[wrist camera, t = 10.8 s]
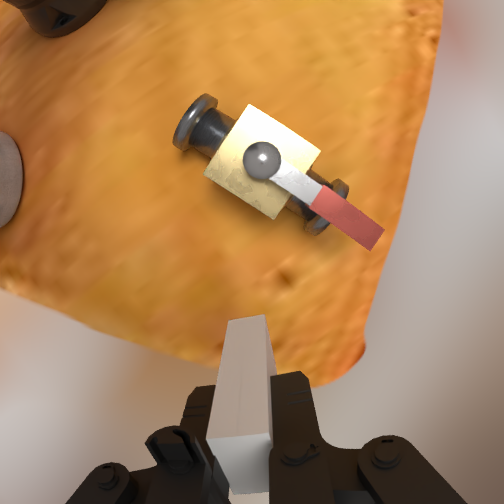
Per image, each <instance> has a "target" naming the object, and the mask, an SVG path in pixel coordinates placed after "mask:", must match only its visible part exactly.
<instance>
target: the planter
mask: <svg viewBox="0 0 504 504" xmlns="http://www.w3.org/2000/svg"><path fill="white" fill-rule="evenodd" d="M22 180H23V174H22V162H21V157H20V154H19V150H18V148H17V146H16V144H15V142H14V140H13V139H12V138H11V137H10V136H9V135H8V134H7V133H5V132H3V131H0V228H1V227H2V226H4V225H5V224H7V223H8V222H9V220H10V219H11V218H12V216H13V215H14V213H15V211H16V208H17V206H18V203H19V200H20V196H21V190H22Z"/></svg>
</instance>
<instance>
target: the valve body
mask: <svg viewBox="0 0 504 504" xmlns="http://www.w3.org/2000/svg"><path fill="white" fill-rule="evenodd" d="M217 104H218V100H217V99H216V98H214V97H212V96H211V95H209V94H203V95H201V96H200V97H199V98H197V99H196V100H195V101H194V102H193V104H192V105H191V106H190V107H189V108H188V110H187V111H186V113H185V114H184V116H183V117H182V119H181V120H180V122H179V124H178V126H177V128H176V131H175V133H174V137H173V145H174V146H176V147H177V148H179V149H181V150H182V151H186V150H188V149H189V148H190V147H191V146H192V147H194V148H195V149H197V150H199V151H200V152H202V153H204V154H205V155H207V156H209V157H210V158H211V160H210V163H209V165H208V166H207V168H206V170H205V171H204V173H203V175H205V176H206V177H208V178H209V179H211V180H212V181H214V182H216V183H217V184H219V185H220V186H222V187H223V188H225V189H227V190H228V191H230V192H231V193H233V194H234V195H236V196H238V197H239V198H241V199H242V200H244V201H245V202H247V203H248V204H250V205H251V206H253V207H255V208H256V209H258V210H259V211H261V212H262V213H264V214H265V215H267V216H268V217H270V218H271V219H273V220H274V219H275V218H276V216H277V215H278V213H279V212H280V210H282V209H283V208H284V207H285V206H286V207H288V208H289V209H290V210H292V211H293V212H295V213H296V214H298V215H299V216H301V217H302V218H304V219H305V223H304V229H305V230H306V231H308V232H309V233H311V234H312V235H314V236H316V235H318V234H320V233H321V232H322V231H323V230H325V229H326V228H327V226H328V225H329V224H330V222H329V221H327V220H326V219H324V218H323V217H321V216H320V215H318V214H317V213H316V212H314V211H313V210H311V209H310V208H308V207H307V206H305V204H306V203H305V202H303V201H302V200H300V199H299V198H298V197H296V196H295V195H293V194H292V193H290V192H289V191H287V190H286V189H284V188H283V187H281V186H279V185H278V184H276V183H275V182H273V181H272V180H270V179H269V178H267V179H258V178H255V177H253V176H251V175H250V174H249V173H248V172H247V171H246V170H245V168H244V165H243V155H244V152H245V150H246V149H247V148H248V146H250V145H251V144H253V143H255V142H258V141H266V142H269V143H272V144H273V145H275V146H276V147H277V149H278V150H279V152H280V154H281V159H283V160H284V161H286V162H287V163H289V164H290V165H292V166H293V167H295V168H296V169H298V170H299V171H301V172H302V173H304V174H305V175H307V176H308V177H310V178H311V179H313V180H314V181H316V182H317V183H318V184H323V185H325V186H327V187H328V188H330V189H331V190H332V191H334V192H335V193H337V194H338V195H339V196H341V197H342V198H343V199H345V200H346V198H347V195H348V192H349V186H348V185H347V184H346V183H344V182H343V181H342V180H340V179H336V180H334V181H333V182H332V183H329V182H328V181H326V180H325V179H324V178H322V177H321V176H319V175H318V174H317V173H315V172H314V171H312V170H311V168H312V165H313V162H314V160H315V159H316V157H317V156H318V154H319V153H320V150H319V149H317V148H316V147H315V146H313V145H312V144H310V143H309V142H307V141H306V140H304V139H303V138H302V137H300V136H299V135H297V134H296V133H294V132H293V131H291V130H290V129H288V128H286V127H285V126H283V125H282V124H280V123H279V122H277V121H276V120H274V119H273V118H271V117H269V116H268V115H266V114H265V113H263V112H261V111H260V110H258V109H256V108H255V107H253V106H251V105H250V104H249V105H248V107H247V108H246V110H245V111H244V112H243V114H242V115H241V117H239V118H238V119H237V120H236V121H235V120H234V119H232V118H230V117H229V116H227V115H225V114H224V113H222V112H220V111H219V110H217V109H216V107H217Z"/></svg>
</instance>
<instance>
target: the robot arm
mask: <svg viewBox="0 0 504 504" xmlns="http://www.w3.org/2000/svg"><path fill="white" fill-rule="evenodd" d="M3 1H5V2H7V3H9V4H11V5H13V6H15V7H16V8H18V9H20V11H21V12H22V14H23V15H24V17H25V19H26V20H27V22H28V23H29V25H30V26H31V28H32V29H33V30H34V31H36V32H37V33H39V34H41V35H43V36H46V37H59V36H63V35H66V34H68V33H70V32H72V31H74V30H76V29H78V28H79V27H81V26H82V25H84V24H85V23H86V22H87V21H89V20H90V19H91V18H92V17H93V16H94V15H95V14H96V13H97V12H98V11H99V10H100V9H101V8H102V6H103V5H104V4H105V2H106V1H107V0H3ZM145 445H146V446H147V448H148V450H149V451H150V453H151V454H152V456H153V458H154V459H155V461H156V462H157V465H156V466H154V467H151V468H148V469H142V470H137V471H132V472H129V471H128V470H127V468H126V467H125V466H123V465H121V464H119V463H113V462H111V463H105V464H102V465H100V466H98V467H96V468H95V469H94V470H93V471H92V472H91V473H90V474H89V475H88V476H87V477H86V479H85V480H84V481H83V482H82V484H81V485H80V486H79V487H78V489H77V490H76V491H75V493H74V494H73V495H72V496H71V497H70V499H69V500H68V501H67V502H66V504H231V503H230V501H229V499H228V496H229V487H230V488H231V490H232V492H233V494H234V495H235V494H251V493H262V492H269V504H467V503H466V502H465V501H464V500H463V499H462V497H461V496H460V495H459V494H458V493H456V491H455V490H454V489H453V488H452V487H451V486H450V485H449V484H448V483H447V481H446V480H445V479H444V478H443V477H442V476H441V475H440V474H439V473H438V472H437V471H436V470H435V469H434V468H433V466H432V465H431V464H430V463H429V462H428V461H427V460H426V459H425V458H424V457H423V456H422V455H421V454H420V453H419V451H418V450H417V449H416V448H415V447H414V446H413V445H412V444H411V443H410V442H409V441H407V440H406V439H404V438H402V437H398V436H395V435H388V436H381V437H378V438H374V439H372V440H371V441H369V442H368V443H366V444H365V445H364V446H363V447H362V449H343V448H337V447H334V446H332V445H330V444H328V443H327V442H326V441H325V440H324V439H323V438H322V436H321V434H320V430H319V426H318V421H317V416H316V412H315V407H314V402H313V398H312V393H311V388H310V384H309V379H308V378H307V377H306V376H305V375H304V374H303V373H302V372H301V371H296V372H291V373H286V374H280V375H277V371H276V364H275V360H274V355H273V351H272V346H271V341H270V337H269V332H268V327H267V323H266V318H265V314H263V315H257V316H252V317H246V318H240V319H234V320H229V321H228V326H227V331H226V336H225V341H224V346H223V351H222V357H221V362H220V367H219V372H218V377H217V383H216V385H209V386H200V387H196V388H195V389H194V390H193V392H192V393H191V394H190V395H189V396H188V399H187V403H186V406H185V409H184V412H183V418H182V419H181V423H180V426H169V427H164V428H162V429H159V430H157V431H155V432H154V433H153V434H152V435H150V436H149V437H148V439H147V441H146V442H145Z"/></svg>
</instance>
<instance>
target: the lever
mask: <svg viewBox="0 0 504 504" xmlns="http://www.w3.org/2000/svg"><path fill="white" fill-rule="evenodd" d="M243 165H244V168H245V170H246V171H247V172H248V173H249V174H250V175H251V176H253V177H255V178H258V179H267V178H269V179H270V180H272V181H273V182H275V183H276V184H278V185H279V186H281V187H283V188H284V189H286V190H287V191H289V192H290V193H292V194H293V195H295V196H296V197H298V198H299V199H300V200H302V201H303V202H305V203H306V204H305V206H307V207H308V208H310V209H311V210H313V211H314V212H316V213H317V214H318V215H320V216H321V217H323V218H324V219H326V220H327V221H329V222H330V223H331V224H333V225H334V226H336V227H337V228H338V229H340V230H341V231H343V232H344V233H346V234H347V235H348V236H350V237H351V238H352V239H354V240H355V241H357V242H358V243H359V244H361V245H362V246H363V247H365V248H366V249H368V250H369V251H371V249H372V248H373V246H374V245H375V243H376V242H377V241H378V239H379V238H380V236H381V235H382V233H383V232H384V229H383V228H382V227H381V226H379V225H378V224H377V223H375V222H374V221H373V220H372V219H370V218H369V217H368V216H366V215H365V214H364V213H362V212H361V211H360V210H358V209H357V208H356V207H354V206H353V205H352V204H350V203H349V202H348V201H346V200H345V199H343V198H342V197H341V196H339V195H338V194H337V193H335V192H334V191H332V190H331V189H330V188H328V187H327V186H325V185H323V184H318V183H317V182H316V181H314V180H313V179H311V178H310V177H308V176H307V175H305V174H304V173H302V172H301V171H299V170H298V169H296V168H295V167H293V166H292V165H290V164H289V163H287V162H286V161H284V160H283V159H281V154H280V152H279V150H278V149H277V147H276V146H275V145H273V144H272V143H269V142H266V141H258V142H255V143H253V144H251V145H250V146H248V148H247V149H246V150H245V152H244V155H243Z"/></svg>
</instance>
